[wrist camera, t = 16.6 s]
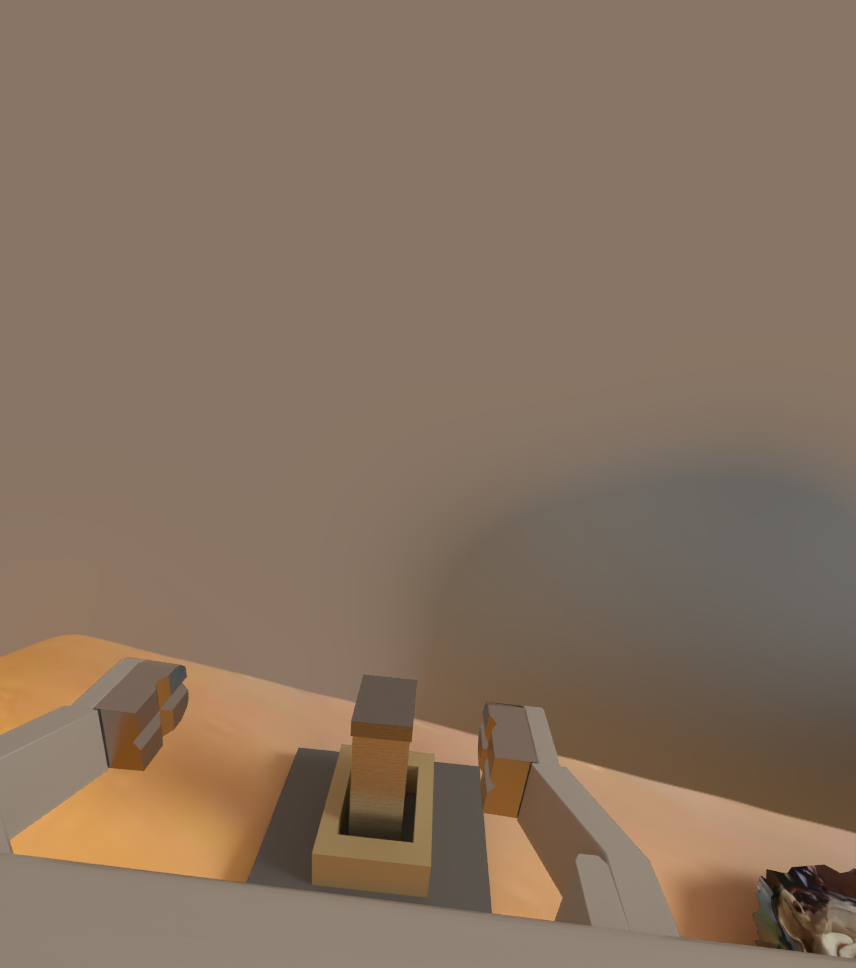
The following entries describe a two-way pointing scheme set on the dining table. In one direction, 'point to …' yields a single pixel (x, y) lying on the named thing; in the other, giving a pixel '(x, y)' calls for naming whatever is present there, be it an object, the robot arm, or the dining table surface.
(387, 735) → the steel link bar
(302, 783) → the keeper plate
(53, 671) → the dining table surface
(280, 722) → the dining table surface
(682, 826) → the dining table surface
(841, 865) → the dining table surface
